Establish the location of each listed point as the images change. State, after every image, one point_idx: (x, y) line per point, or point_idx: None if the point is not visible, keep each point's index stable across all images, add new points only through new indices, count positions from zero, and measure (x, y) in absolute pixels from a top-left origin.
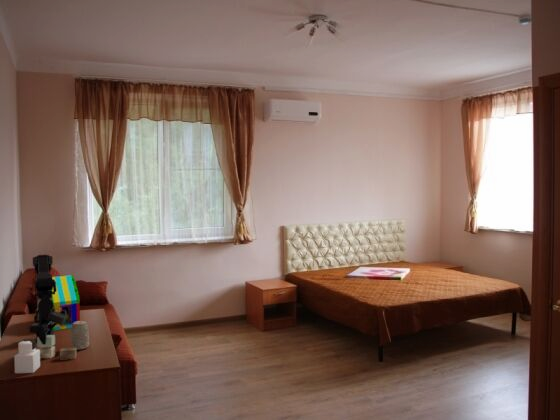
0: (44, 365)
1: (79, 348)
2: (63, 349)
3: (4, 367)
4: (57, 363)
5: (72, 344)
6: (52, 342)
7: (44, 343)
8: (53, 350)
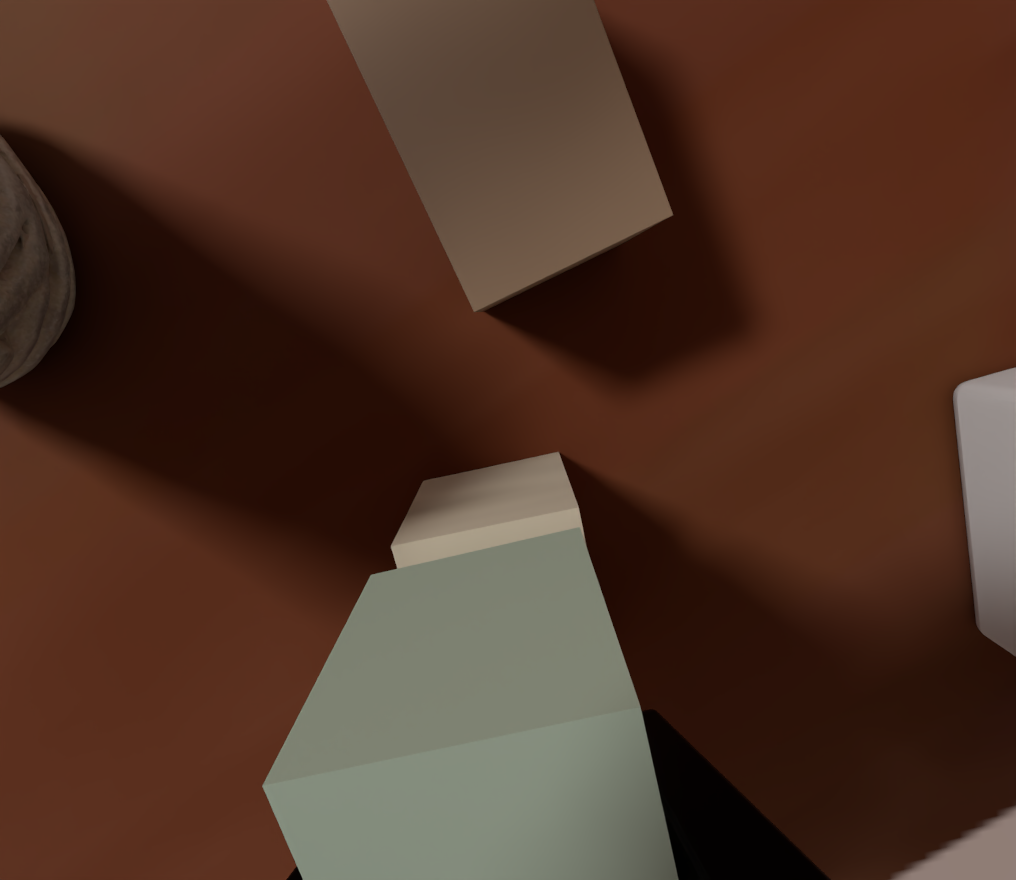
0: (893, 349)
1: (39, 187)
2: (537, 198)
3: (988, 824)
4: (783, 179)
5: (3, 367)
6: (529, 588)
7: (669, 737)
8: (480, 504)
